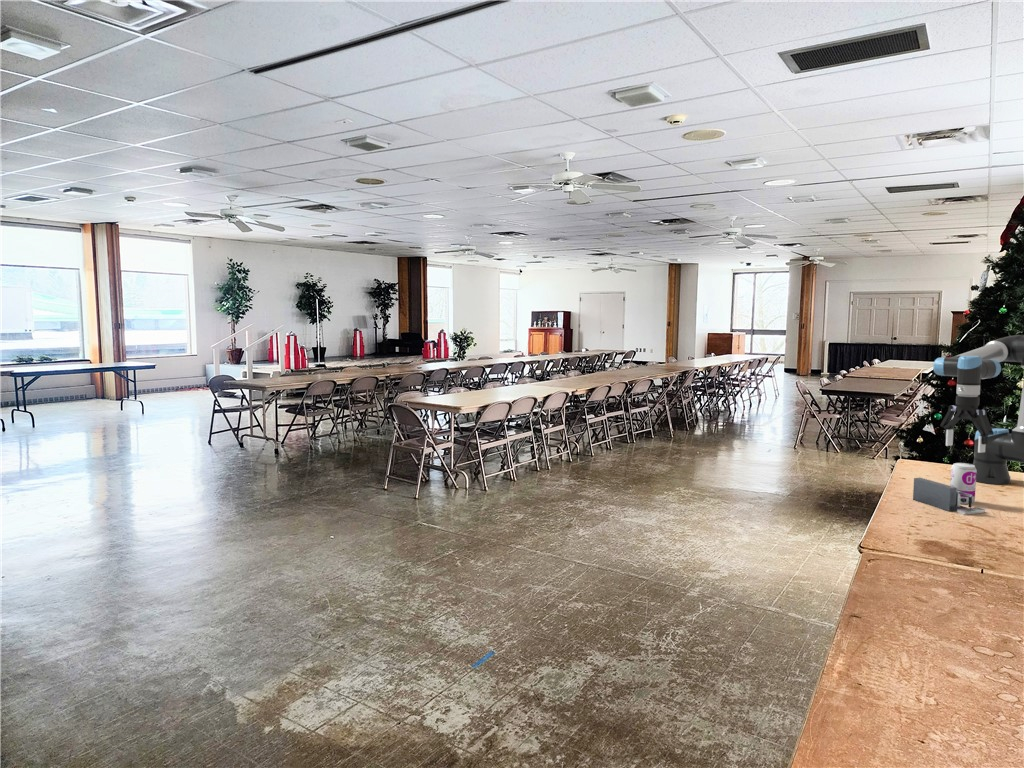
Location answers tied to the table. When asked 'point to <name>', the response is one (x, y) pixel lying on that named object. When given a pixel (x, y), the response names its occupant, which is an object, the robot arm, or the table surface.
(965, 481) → the supplement can
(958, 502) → the gauge plunger
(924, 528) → the table surface
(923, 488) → the gauge housing
